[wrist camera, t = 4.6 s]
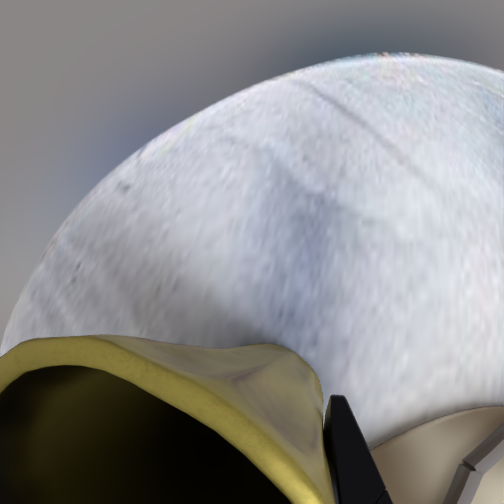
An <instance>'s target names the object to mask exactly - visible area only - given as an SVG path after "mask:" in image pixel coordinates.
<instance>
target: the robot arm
mask: <svg viewBox="0 0 504 504" xmlns="http://www.w3.org/2000/svg"><path fill="white" fill-rule="evenodd" d="M323 435H324V446H325V453H326V458H327V462H328V467H329V472H330V477H331V483H332V489H333V494H334V499H335V503H336V504H393V502H392V499H391V497H390V495H389V493H388V490H385V489H386V486H385V484H384V481H383V479H382V477H381V475H380V472H379V470H378V468H377V466H376V463H375V461H374V459H373V457H372V454H371V452H370V450H369V448H368V445H367V443H366V441H365V439H364V437H363V434H362V432H361V430H360V428H359V426H358V423H357V421H356V419H355V417H354V415H353V412H352V410H351V408H350V406H349V404H348V401H347V399H346V397H345V396H343V395H331V396H330V399H329V402H328V406H327V410H326V414H325V422H324V430H323Z"/></svg>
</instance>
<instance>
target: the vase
mask: <svg viewBox="0 0 504 504" xmlns="http://www.w3.org/2000/svg"><path fill="white" fill-rule="evenodd" d="M0 504H336V503H335V499H334V494H333V489H332V483H331V477H330V472H329V467H328V462H327V458H326V453H325V446H324V435H323V393H322V389H321V385H320V382H319V379H318V377H317V375H316V373H315V371H314V370H313V369H312V368H311V366H310V365H309V364H308V363H306V362H305V361H304V360H303V359H302V358H301V357H300V356H299V355H298V354H296V353H295V352H294V351H292V350H289V349H287V348H284V347H281V346H278V345H274V344H252V345H247V346H240V347H232V348H224V349H217V348H204V347H197V346H189V345H181V344H172V343H165V342H159V341H154V340H150V339H145V338H137V337H130V336H120V335H86V336H70V337H49V338H35V339H31V340H27V341H24V342H21V343H20V344H18V345H17V346H15V347H14V348H12V349H11V350H10V351H8V352H7V353H5V354H4V355H3V356H1V357H0Z"/></svg>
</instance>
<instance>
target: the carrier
mask: <svg viewBox="0 0 504 504" xmlns="http://www.w3.org/2000/svg"><path fill="white" fill-rule="evenodd" d="M370 452H371V454H372V457H373V459H374V461H375V463H376V466H377V468H378V470H379V472H380V475H381V477H382V479H383V481H384V484H385V486H386V489H385V490H388V493H389V495H390V497H391V499H392V502H393V504H504V406H493V407H480V408H475V409H469V410H464V411H460V412H457V413H453V414H450V415H447V416H443V417H440V418H437V419H435V420H432V421H430V422H427V423H425V424H422V425H420V426H417V427H414V428H412V429H410V430H408V431H406V432H404V433H402V434H400V435H398V436H396V437H394V438H392V439H390V440H388V441H386V442H385V443H383V444H381V445H379V446H378V447H376V448H374V449H372V450H370Z"/></svg>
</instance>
